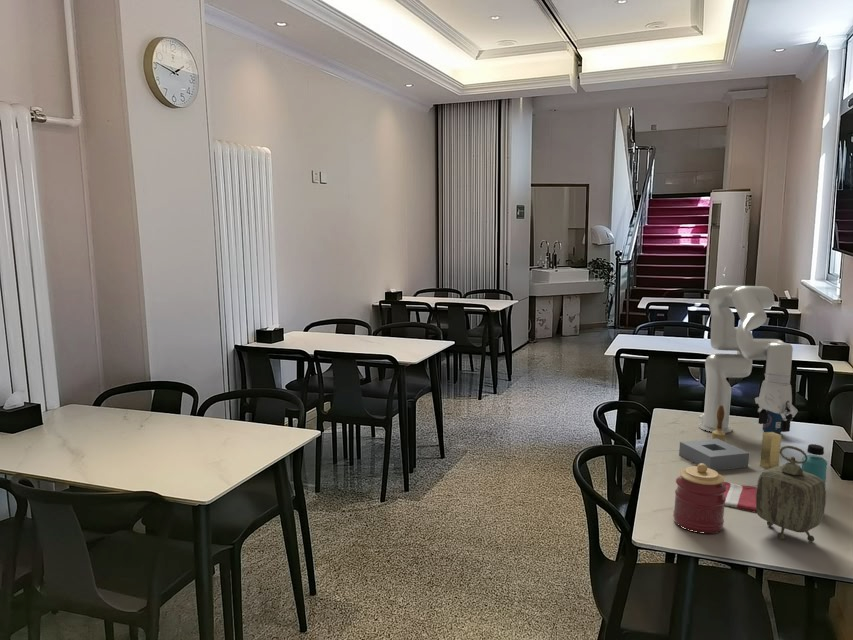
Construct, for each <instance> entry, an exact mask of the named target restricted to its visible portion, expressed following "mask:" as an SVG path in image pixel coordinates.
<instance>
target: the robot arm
mask: <svg viewBox="0 0 853 640" xmlns="http://www.w3.org/2000/svg"><path fill="white" fill-rule="evenodd" d="M774 294H775V293H773V290H772V289H771V288H770V287H768V286H765V285H764V286H763V285H762V286H761V285H759V286H758V285H718V286H715V287H713V288H712V289H711V290H710V291H709V295H708V306H709V310H710V315H711V321H710V322H711V323H710V345H711V348H712V349H713V350H717V351H727V352H728V351H732V352H733V351H734V352H735V351H736V353H713V354H710V355H708V356H707V357H706V359H705V360H704V361H705V362H704V366H705V378H706V379H705V380H706V382H705V383H706V384H705V396H704V397H705V398H704V408H703V409H704V411H703V413H702V414H701V415H699V416H698V419H700V420H701V422H700V423H699V424H698V428H700V429H701V430H703V431H705V430H706V431H705V432H709V431H710V432H709V433H712V432H713V431H716V430H717V424H718V420H717V411H718V408H719V406H720V405H722V406H723V408H724V418H723V421H722V431H723V432H724V433H725V434H728V433H727V432H730V433H732V432H733V427H732V426H731V425H729V422H730V421H729V420H730V412H731V411H730V409H731V398H732V387H731V385H730V383H729V382H728V380H727V378H746V377H749V376H750V375H751V373H752V369H753V361H766V363H765V372H764V378H765V379H764V380H762V383H761V387H760V391H759V396H757V397H755V398H754V401H755V406H756V408H757V413H758V421H757V422H758V424H760V425H763V424H766V423H767V418H768V412H766V411H770V412H773V413H777V414H781V416H782V418H783V420H782V421H781V433H789V432H790V431H791V421H793V419H794V418H796V415H797V413H798V412H799V411H798V409H797V407H795V406H794V405H793V404H792V403H793V394H792V385H791V377H792V376H791V375H792V374H791V373H792V361H793V350H794V348H793V345H792V344H791V343H787V342H784V340H781V339H778V338H754V336H753V333H752V331H753V330H754V329H757V328H759V327H760V326H763V325H764V324H765V323H766V321H767V318H768V317H767V313H766V311H765V309H770V308H771V307H772V306H773V305H774V302H775V295H774ZM731 308H735V309H736V312H737V315H738V317H739V319H740V323H739V326H738V327H735V314H734V313H733V310H731ZM731 431H732V432H731Z"/></svg>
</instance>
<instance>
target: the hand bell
mask: <svg viewBox="0 0 853 640" xmlns="http://www.w3.org/2000/svg"><path fill="white" fill-rule="evenodd" d="M723 418H724V408H723V406H722V405H720V406H719V408H718V411H717V420H718V424H717V430H716V431H713V432H711V437H710V439H716V438H717V439H719V440H721V441H724V442H726V443H727V440H726V433H724V432H723V431H722V421H723Z"/></svg>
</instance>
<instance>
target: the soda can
mask: <svg viewBox="0 0 853 640" xmlns="http://www.w3.org/2000/svg"><path fill="white" fill-rule="evenodd" d="M766 412H768V418H767V423H766V424H762V431H763V433H764V432H774V433H777V434H779V435H781V433H782V432H781V421H782V420H783V418H782V416H781V414H777V413H773V412H770V411H766Z"/></svg>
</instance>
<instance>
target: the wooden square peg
mask: <svg viewBox="0 0 853 640" xmlns="http://www.w3.org/2000/svg"><path fill="white" fill-rule="evenodd" d="M761 439H762V440H761V449H760V450H761V451H760V460H759V461H760V462H759V466H760V467H762V468H764V469H766V470H768V469H770V468H773V467H775V466H780V465H779V464H780V456H781V455H780V449H781V447H782V445H781V444H782V434H777V433H774V432H764V431H763V432H762V438H761Z"/></svg>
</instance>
